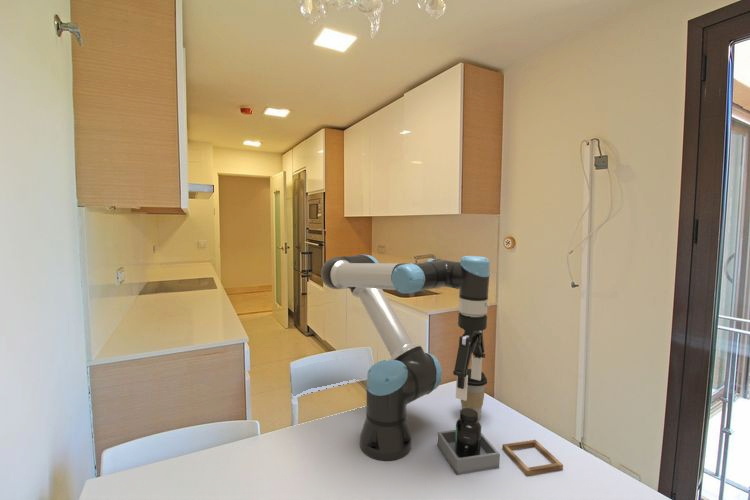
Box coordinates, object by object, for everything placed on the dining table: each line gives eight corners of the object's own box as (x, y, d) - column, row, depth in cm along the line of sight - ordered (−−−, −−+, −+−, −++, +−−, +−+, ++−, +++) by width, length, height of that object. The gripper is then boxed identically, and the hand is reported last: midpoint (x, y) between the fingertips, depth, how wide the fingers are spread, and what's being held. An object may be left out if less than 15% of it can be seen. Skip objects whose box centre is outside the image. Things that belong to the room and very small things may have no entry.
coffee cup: (486, 426, 114) (489, 381, 113) (456, 422, 116) (458, 378, 114) (483, 411, 123) (485, 369, 122) (456, 407, 125) (457, 366, 124)
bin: (437, 445, 104) (437, 432, 104) (475, 439, 107) (476, 427, 107) (456, 474, 92) (457, 460, 92) (499, 467, 95) (499, 453, 95)
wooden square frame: (502, 449, 103) (502, 444, 102) (535, 444, 105) (535, 439, 105) (526, 476, 92) (527, 470, 92) (562, 470, 95) (563, 464, 94)
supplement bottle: (451, 454, 99) (452, 413, 98) (460, 442, 104) (461, 403, 103) (475, 464, 95) (477, 422, 94) (483, 451, 100) (485, 410, 99)
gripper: (473, 327, 83) (468, 413, 85) (497, 306, 105) (493, 375, 107) (442, 321, 87) (439, 404, 89) (472, 302, 108) (468, 369, 110)
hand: (468, 388), depth 98 cm, fingers open, 13 cm apart
